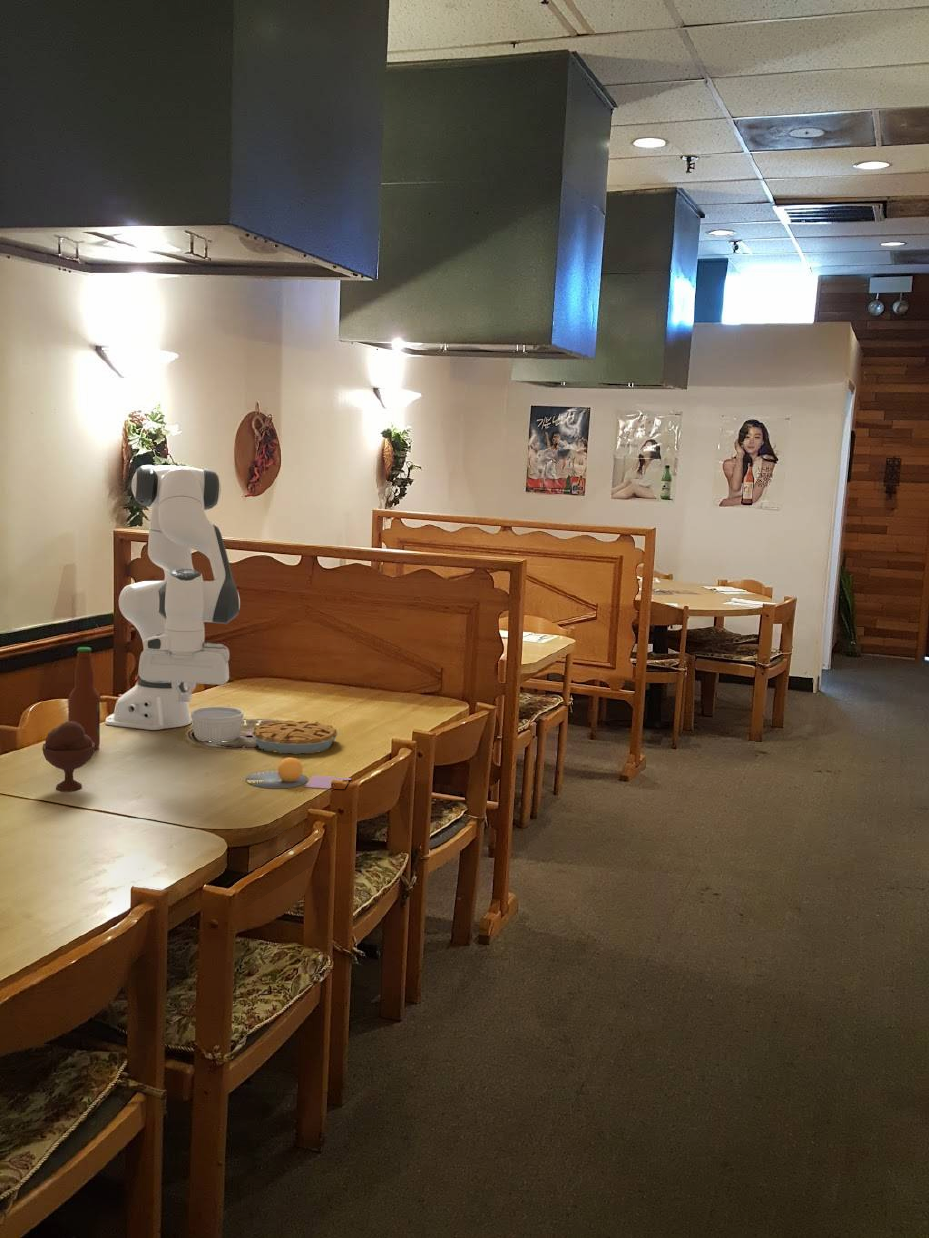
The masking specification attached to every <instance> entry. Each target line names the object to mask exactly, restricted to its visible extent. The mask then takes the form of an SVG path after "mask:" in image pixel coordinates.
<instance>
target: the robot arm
mask: <svg viewBox="0 0 929 1238" xmlns="http://www.w3.org/2000/svg"><path fill="white" fill-rule="evenodd" d="M220 481H221V480H220V478H219V475H218V474H217V473H216V471H213V470H211V469H207V468H202V469H200V468H196V467H192V466H185V465H152V464H145V465H141V466H139V467H138V468H136V470H135V473H134V474H133V477H132V479H131V492H132V494H133V497H134V500H135V501H136V502H137V503H138V504H139V505H141V506H144V507H151V512H150V517H149V525H148V526H149V527H148V529H149V531H148V540H147V541H148V542H147V543H148V545H147V556H148V558H149V560H150V561H151V563H153V564H154V565H156V567H159V568H161V569H162V570H163V573H164V580H143V581H139V582H134V583H131V584H128V585H125V586H124V587H123V588H122V590H121V591H120V594H119V596H118V608H119V611H120V613H121V615H122V616H123V617H124V618H125V619H126V620H127V621H129V622H130V623H131V624H132V625H133V626H134V627H135V628H136V630H137V631H138V633H139V636H140V638H141V640H142V646H143V651H141V653H140V655H139V660H138V661H139V663H138V672H137V675H135V676H134V677H135V681H136V682H137V684H136V685H134V686H133V687H132V688H130V689H129V690H127V691H126V692H124V693H123V694H122V695H120V696H119V698H118V699H117V700H116V702H115V707H114V711H113V713H111V714H109V715H108V716H107V717H106V718H105V722H104V723H105V725H107V726H108V725H109V726H116V727H124V728H125V727H126V728H132V729H133V728H134V729H141V730H150V731H157V730H164V729H172V728H179V727H185V726H188V725H190V724H191V723H193V720H192V718H191V714H190V710H189V709H190V708H189V704H188V703H190V702H191V701H192V694H193V692H194V690H195V689H196V687H197V684H201V685H203V684H205V685H220V686H221V685H222V686H223V685H225V684H226V683H228V681H229V680H230V669H229V668H230V667H229V661H230V649H229V648H228V647H227V646H226V645H224V644H223V643H212V642H205V638H206V637H205V633H206V631H205V623H214V624H224V625H228V623H230V622H231V621H232V620H234V619H235V618H237V616H238V615H239V612H240V608H241V598H240V594H239V591H238V589H237V586H236V583H235V580H234V577H233V573H232V572H233V571H232V570H231V569H232V568H231V566H230V565H231V564H230V560H229V558H228V557H229V556H228V553H227V549H226V546H225V542H224V539H223V536H222V533H221V531H220V529H219V526H216V525H215V524H214V523H211V520H209V518H208V516H207V515H206V510H211V509H213V508H215V506H217V505H218V502H219V499H220V497H221V494H222V493H221V492H222V485H221V482H220ZM192 550H195V551H197V552H199V553H201V554H203V555H204V556H205V557H207V559H208V560H209V563H210V567H211V571H212V575H213V579H214V580H204V578H203V574H202V572H200V571H197V570H195V569H194V565H193V560H192V559H193V558H192Z"/></svg>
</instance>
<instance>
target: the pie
mask: <svg viewBox="0 0 929 1238" xmlns="http://www.w3.org/2000/svg"><path fill="white" fill-rule="evenodd" d="M251 736H252V738H253V739H254V740H255V742H256V745H257V747H258V746H259V747H258V748H259V749H260V748H261V750H263V749H264V750H263V751H266V752H270V751H276V752H281V753H280V754H283V753H295V754H294V755H301V754H300V753H312V754H314V753H313V752H317V753H319V752H318V751H321V752H323V751H326V750H328V749H329V748H330V747H331V745H332V744H333V742H334V740H336V738H337V736H338V731H337V730H336V728H334V727H333V726H332V725H330V724H322V723H320V722H318V721H315V722H309V721H308V720H301V721H294V720H285V721H279V720H275V721H271V722H270V723H268V722H263V723H261V724H260V726H255V727H254V729H253V731H252V733H251ZM276 752H275V753H276ZM298 753H299V754H298Z"/></svg>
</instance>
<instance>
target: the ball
mask: <svg viewBox="0 0 929 1238" xmlns="http://www.w3.org/2000/svg"><path fill="white" fill-rule="evenodd" d="M277 770H278V775H279V777H280V778H281V779H282V780H283V781H285V782H294V781H296V780H298V779H299V778H300V776H301V774H303V765H302V763H301V762H300V760H298V759H297V758H295V757H286V758H283V760H281V761H280V762H279V764H278V766H277Z"/></svg>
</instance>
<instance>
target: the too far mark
mask: <svg viewBox="0 0 929 1238" xmlns="http://www.w3.org/2000/svg"><path fill="white" fill-rule="evenodd" d="M332 780H352V778H351V777H337V776H321V775H312V777H311V778H310V779H309V780H308V781H307V782H306V785H304V786H305V787H304V788H307V789H321V790H331V789H330V788H331V781H332Z"/></svg>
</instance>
